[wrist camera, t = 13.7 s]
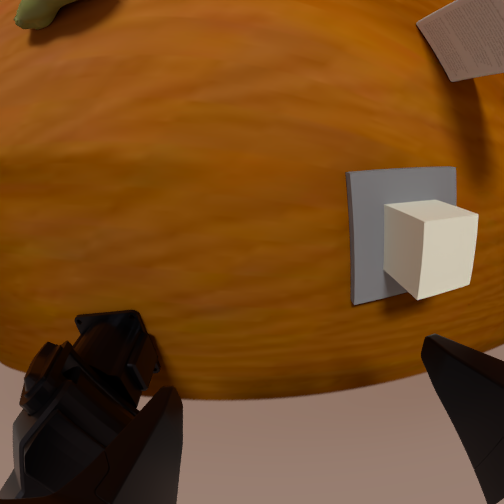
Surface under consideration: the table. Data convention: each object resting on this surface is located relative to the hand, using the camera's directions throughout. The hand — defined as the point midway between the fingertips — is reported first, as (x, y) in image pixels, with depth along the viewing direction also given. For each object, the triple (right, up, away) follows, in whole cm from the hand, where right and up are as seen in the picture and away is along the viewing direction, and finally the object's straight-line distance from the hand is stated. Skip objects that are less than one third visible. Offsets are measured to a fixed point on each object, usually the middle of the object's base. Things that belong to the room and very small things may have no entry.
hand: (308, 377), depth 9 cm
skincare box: (+15, +22, +6) cm, 27 cm away
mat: (+10, +6, +11) cm, 16 cm away
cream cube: (+10, +6, +11) cm, 16 cm away
